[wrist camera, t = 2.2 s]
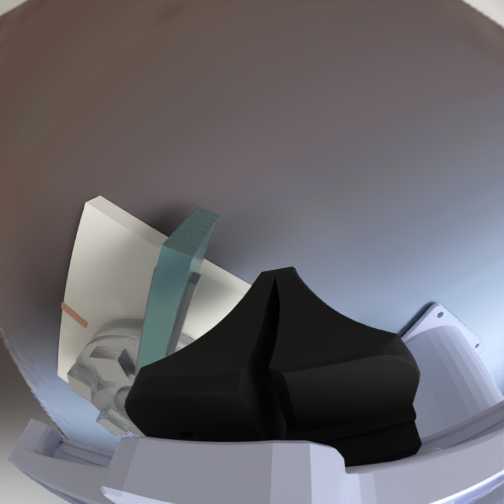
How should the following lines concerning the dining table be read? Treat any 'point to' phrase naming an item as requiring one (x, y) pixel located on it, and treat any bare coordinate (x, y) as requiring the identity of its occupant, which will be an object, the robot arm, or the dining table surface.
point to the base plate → (128, 280)
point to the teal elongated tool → (144, 327)
